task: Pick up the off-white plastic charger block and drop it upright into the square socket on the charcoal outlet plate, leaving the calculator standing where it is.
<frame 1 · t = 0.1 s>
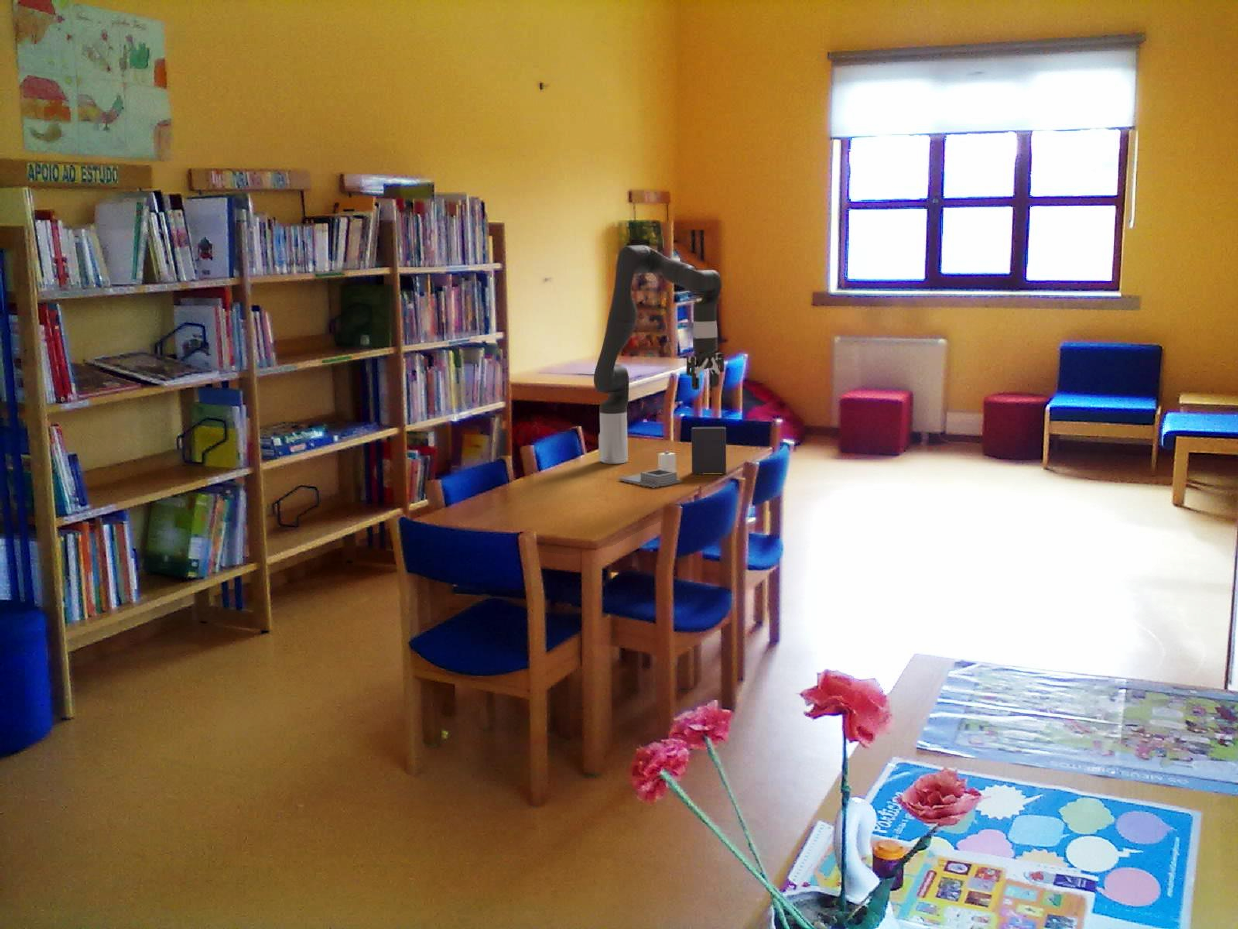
hand: (705, 388, 372), 29 cm above the table, tool pointing down, fingers open, 8 cm apart
outlet plate: (650, 481, 377), on the table
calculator: (709, 473, 388), on the table
charger: (667, 475, 387), on the table
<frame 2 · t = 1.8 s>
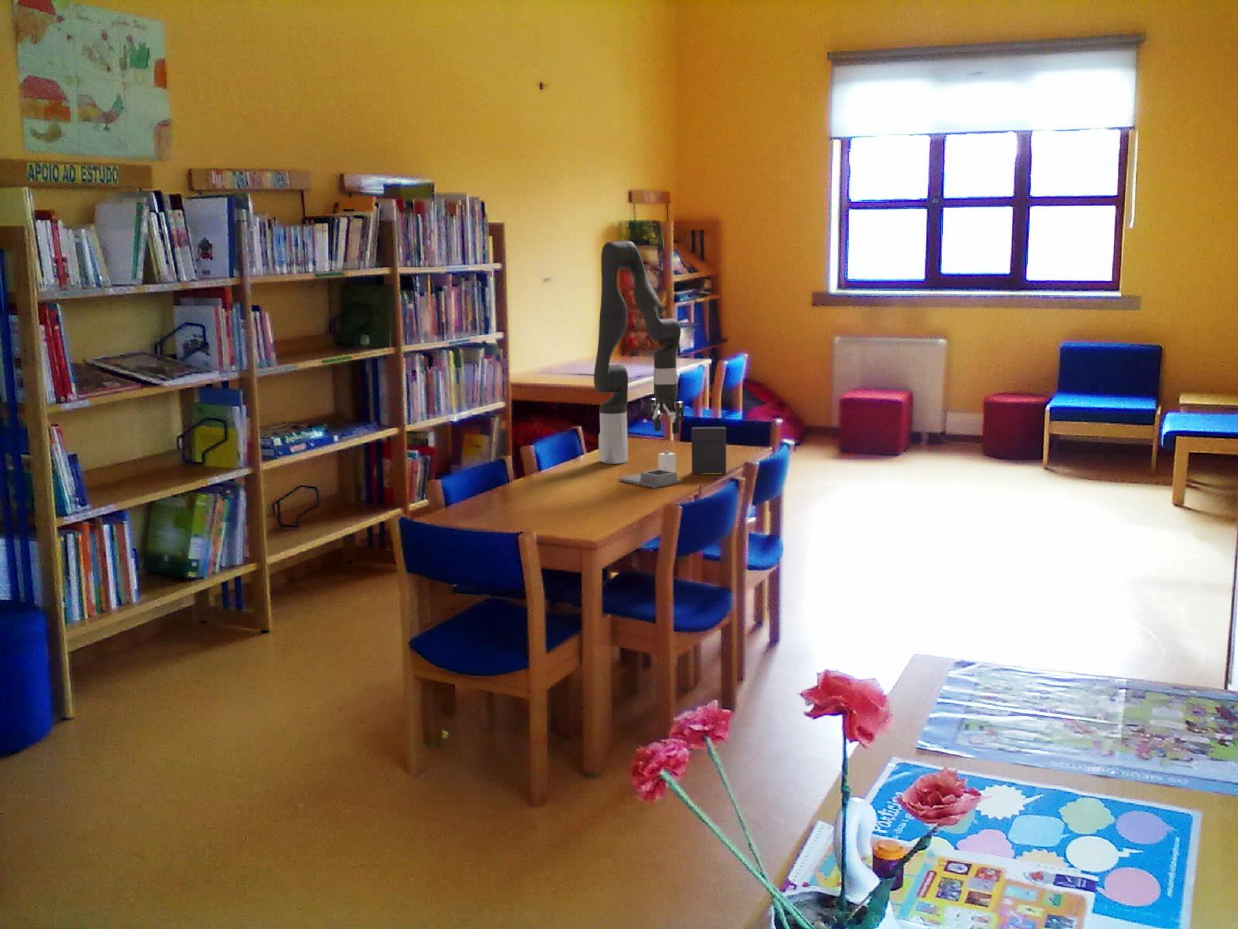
hand: (666, 432, 384), 14 cm above the table, tool pointing down, fingers open, 8 cm apart
nothing on the table moved.
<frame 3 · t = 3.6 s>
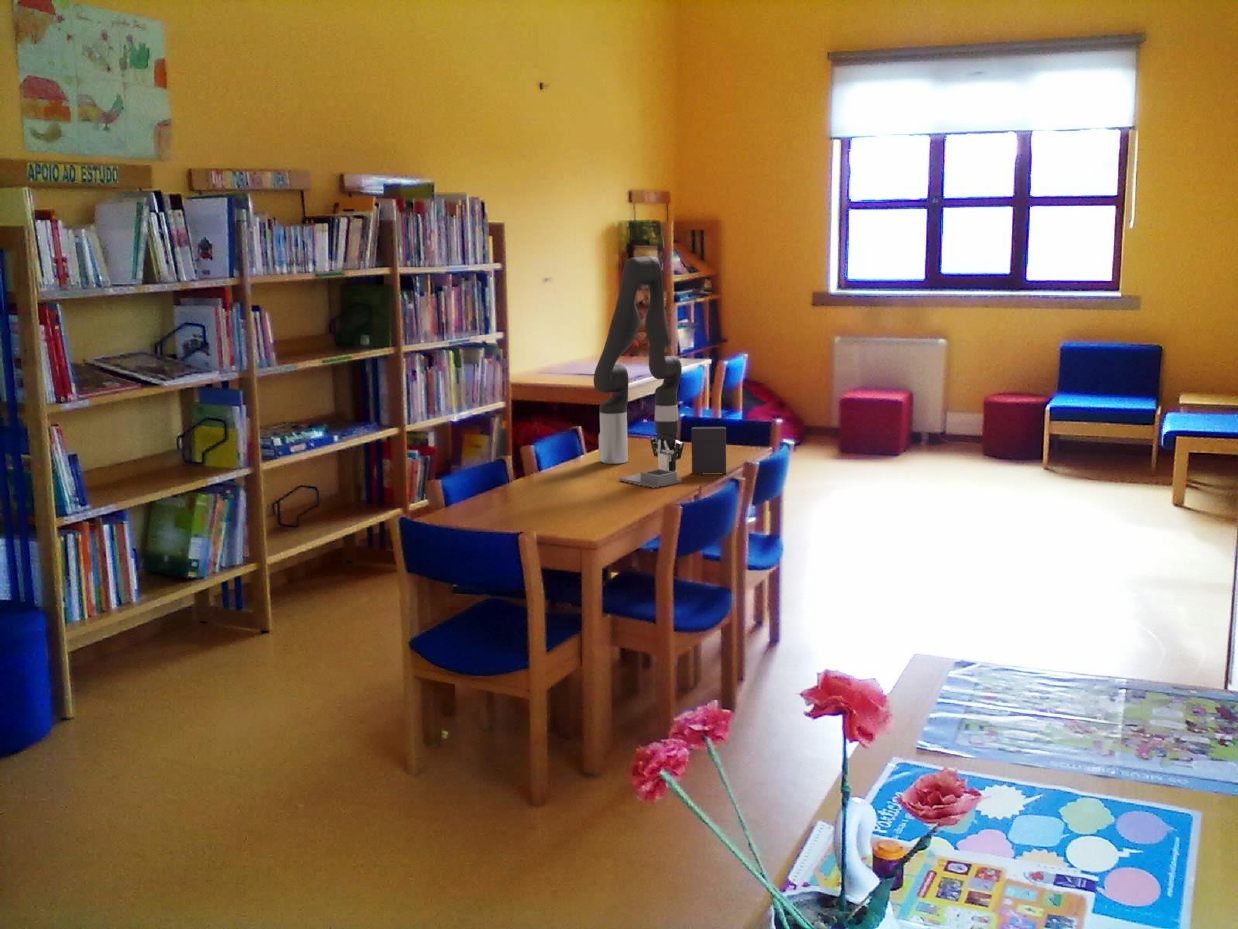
hand: (667, 471, 387), 1 cm above the table, tool pointing down, fingers closed on charger, 4 cm apart
charger: (667, 474, 387), on the table, touching gripper
everything else where it was.
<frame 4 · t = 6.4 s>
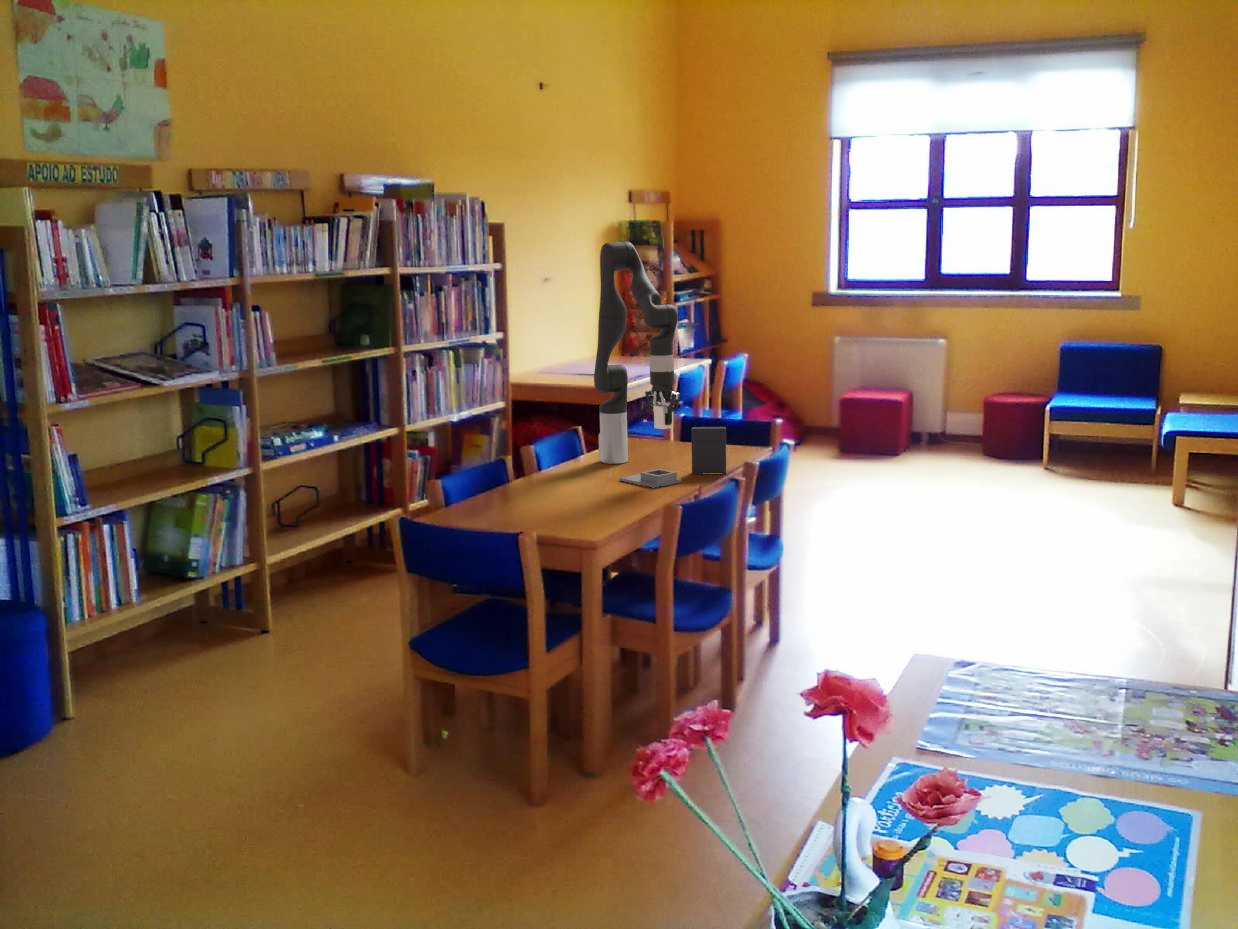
hand: (663, 423, 376), 18 cm above the table, tool pointing down, fingers closed on charger, 4 cm apart
charger: (663, 428, 376), point 17 cm above the table, touching gripper
everything else where it was.
when the fingers open (5 cm above the table, at t = 9.4 s): charger drops 2 cm, resting on outlet plate.
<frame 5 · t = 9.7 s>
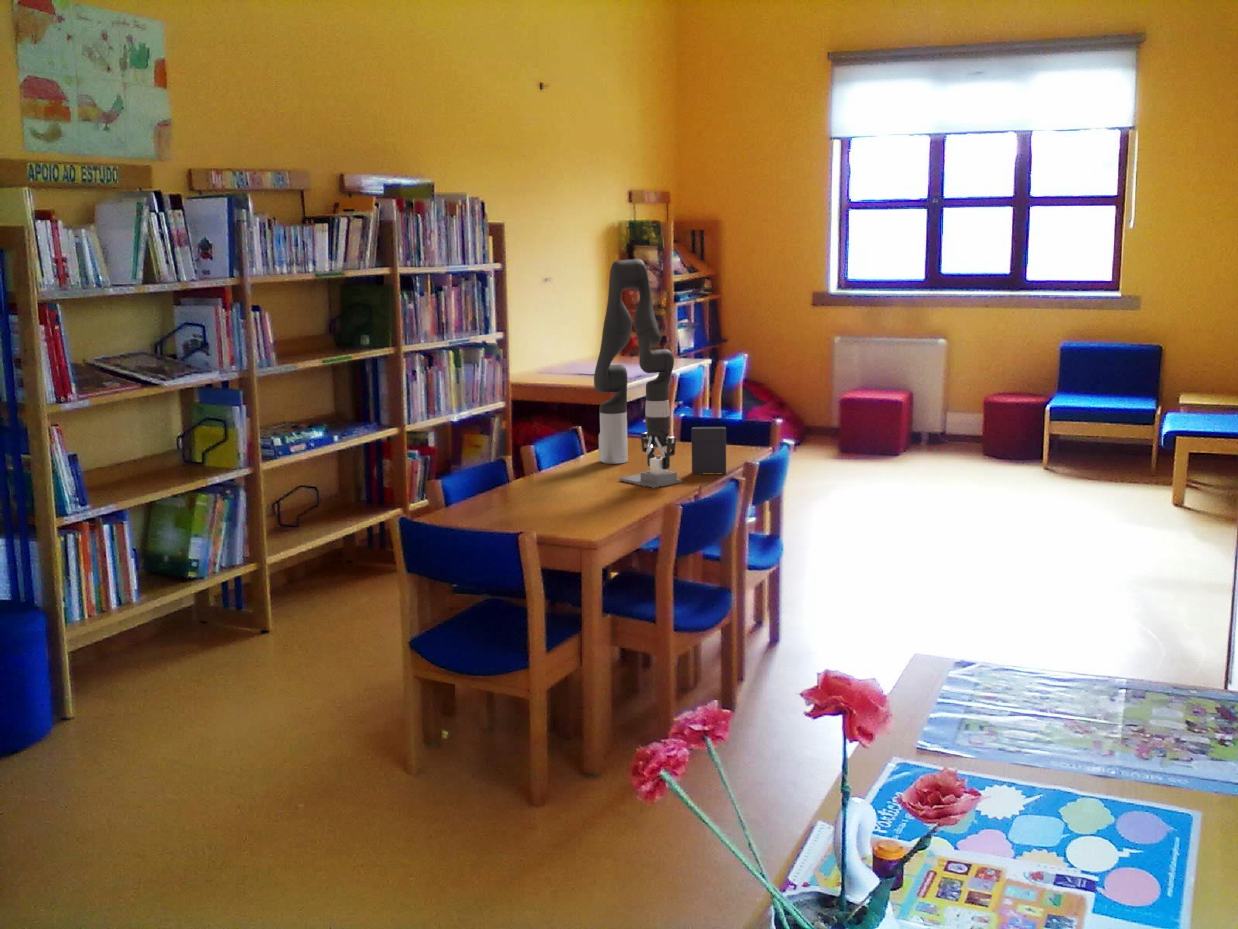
hand: (658, 467, 373), 5 cm above the table, tool pointing down, fingers open, 6 cm apart
charger: (659, 480, 374), point 1 cm above the table, touching outlet plate
everything else where it was.
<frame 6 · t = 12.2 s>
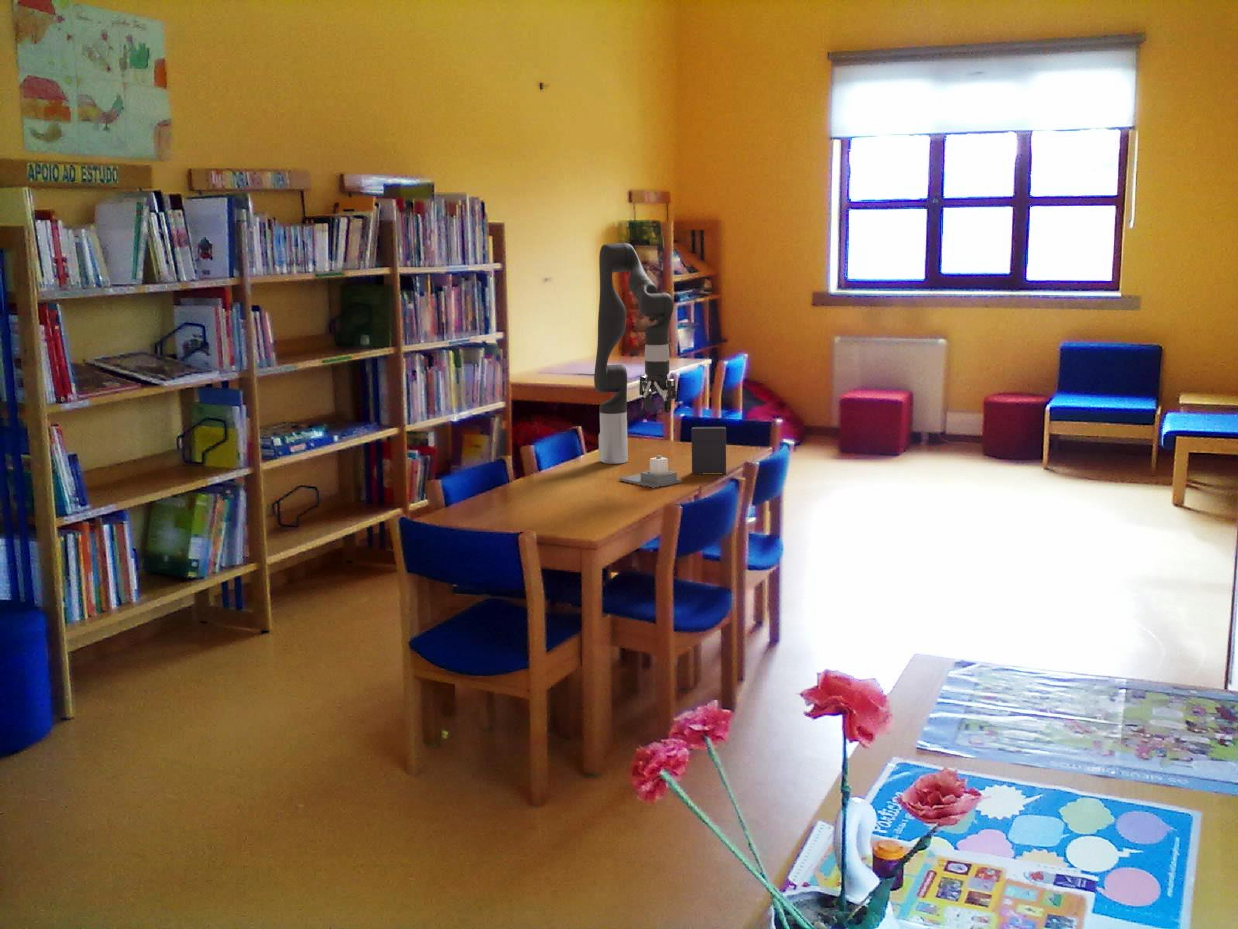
hand: (657, 411, 371), 23 cm above the table, tool pointing down, fingers open, 8 cm apart
nothing on the table moved.
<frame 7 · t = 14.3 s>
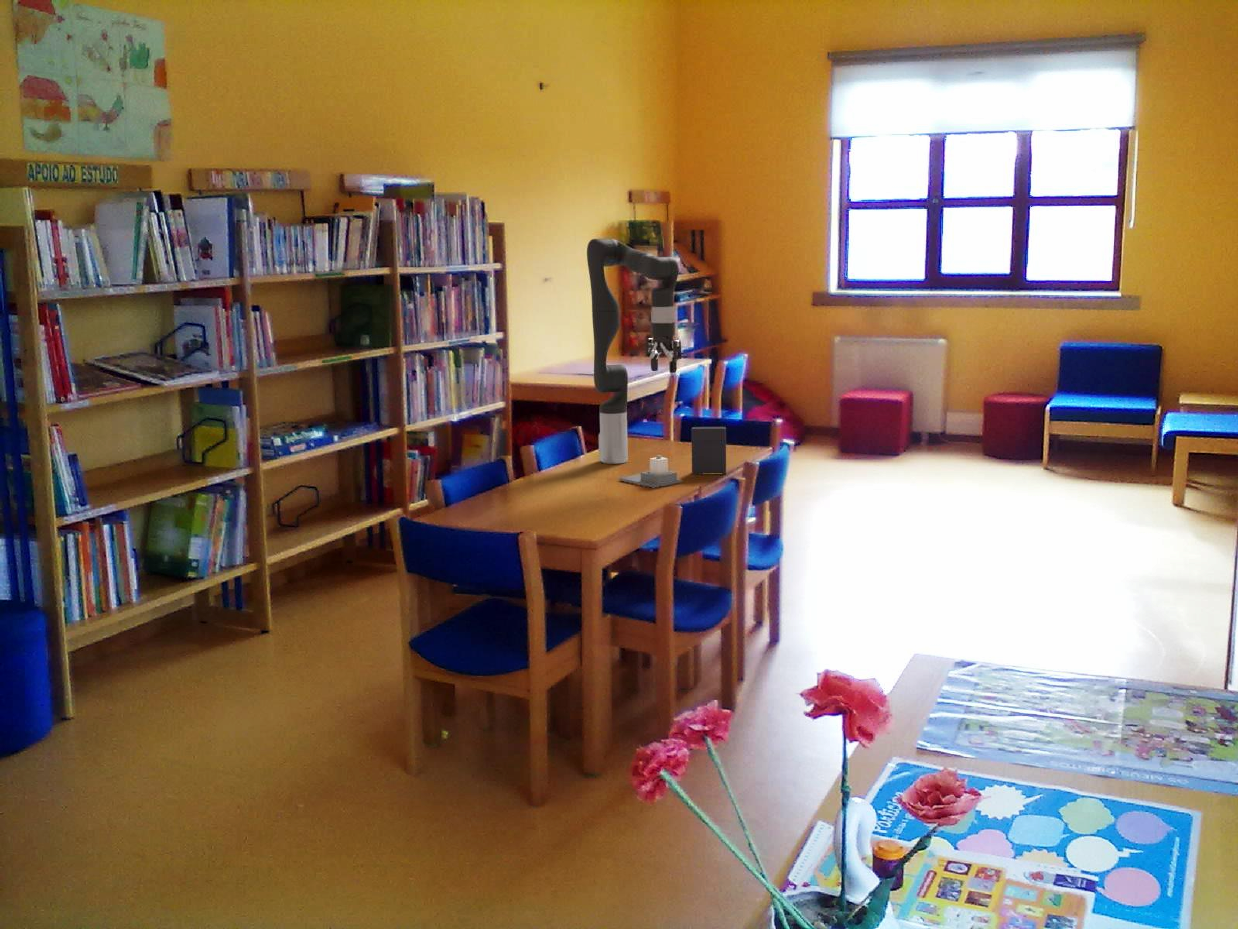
hand: (663, 371, 383), 33 cm above the table, tool pointing down, fingers open, 8 cm apart
nothing on the table moved.
at the end: charger 0.2 cm from the target spot on the outlet plate, point 1.0 cm above the outlet plate's base; charger tilted 0°; the gripper is holding nothing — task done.
